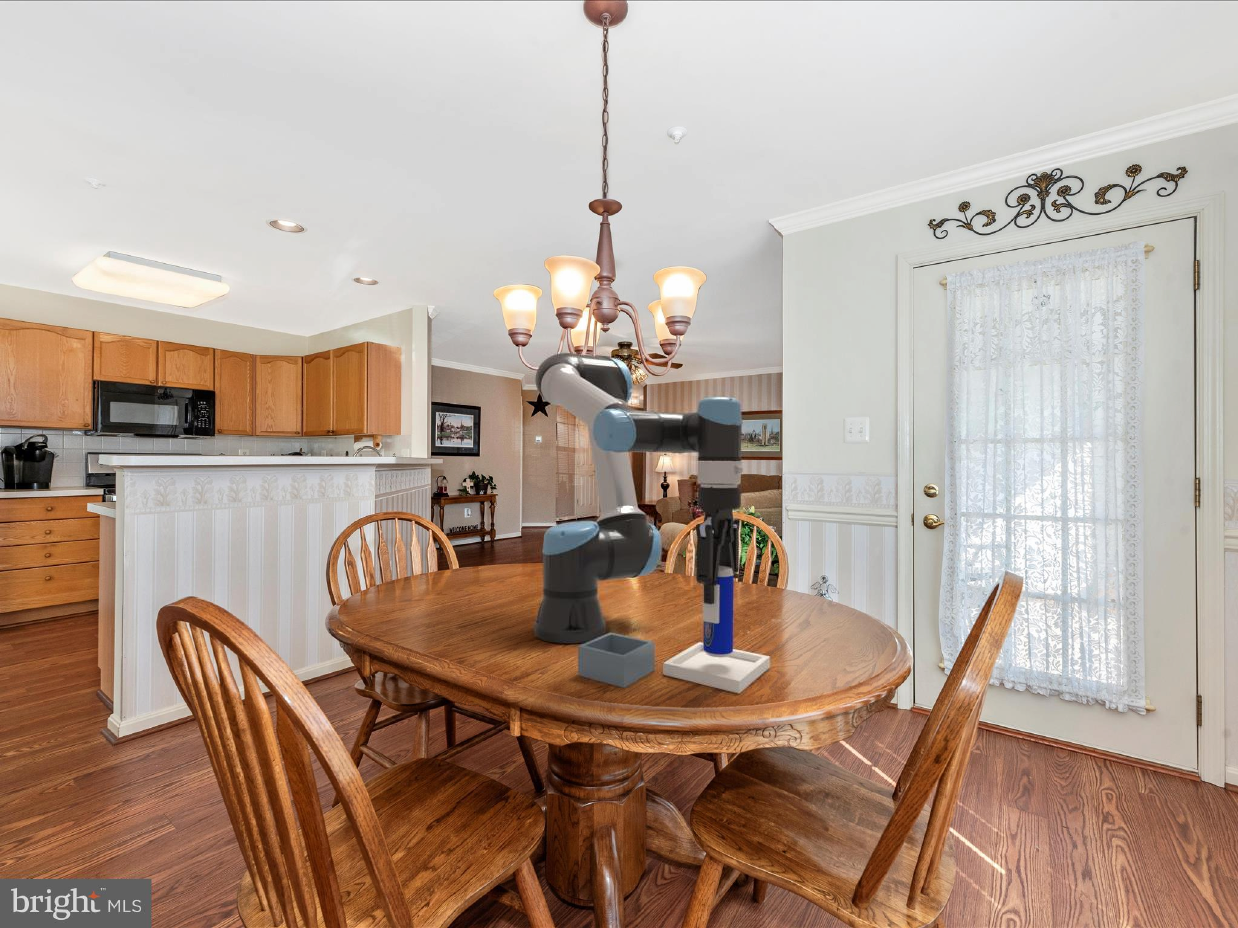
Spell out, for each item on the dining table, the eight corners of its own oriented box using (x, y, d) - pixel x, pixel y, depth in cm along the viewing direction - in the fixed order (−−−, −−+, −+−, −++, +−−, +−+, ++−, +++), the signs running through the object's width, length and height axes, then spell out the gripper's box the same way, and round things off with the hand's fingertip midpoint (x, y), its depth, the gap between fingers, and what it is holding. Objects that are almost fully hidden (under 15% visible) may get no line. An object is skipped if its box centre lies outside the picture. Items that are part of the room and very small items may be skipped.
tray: (663, 674, 100) (663, 662, 100) (699, 652, 111) (699, 641, 111) (739, 693, 92) (739, 680, 92) (769, 667, 103) (769, 656, 103)
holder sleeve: (577, 675, 99) (578, 646, 99) (610, 659, 107) (610, 632, 107) (624, 687, 94) (624, 657, 94) (654, 670, 101) (654, 642, 101)
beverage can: (700, 648, 104) (701, 565, 104) (728, 648, 104) (729, 565, 104) (707, 658, 99) (707, 571, 98) (736, 657, 99) (737, 570, 99)
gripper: (717, 488, 92) (715, 634, 92) (758, 485, 107) (757, 610, 107) (675, 487, 96) (674, 626, 96) (720, 483, 111) (719, 604, 111)
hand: (718, 617), depth 101 cm, fingers closed on beverage can, 5 cm apart
